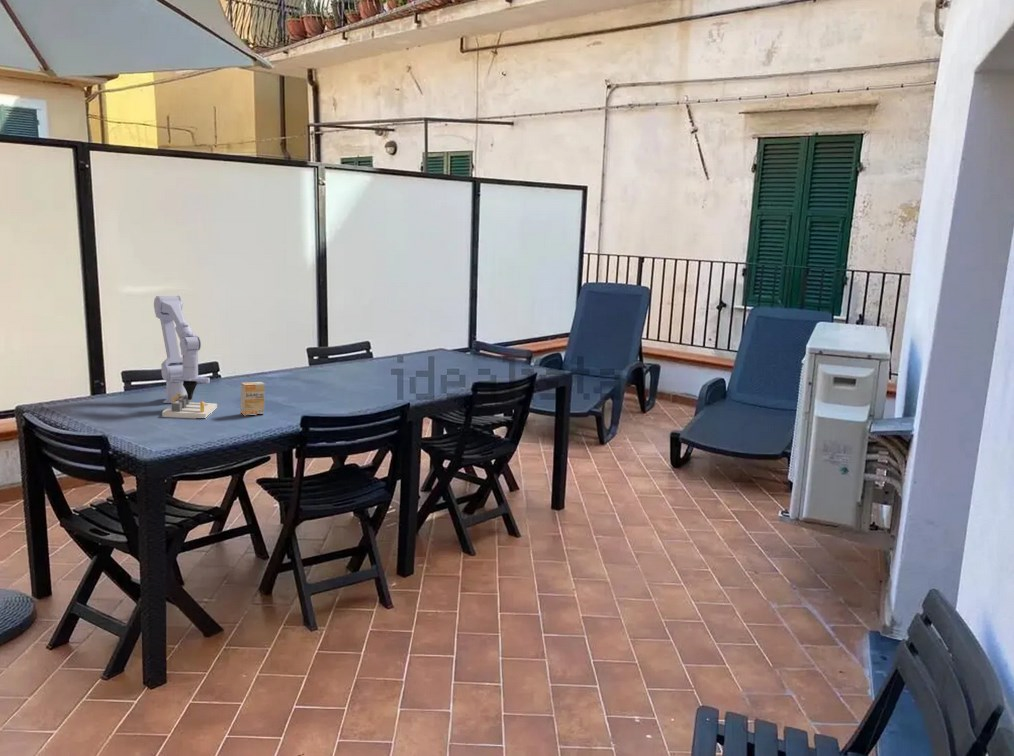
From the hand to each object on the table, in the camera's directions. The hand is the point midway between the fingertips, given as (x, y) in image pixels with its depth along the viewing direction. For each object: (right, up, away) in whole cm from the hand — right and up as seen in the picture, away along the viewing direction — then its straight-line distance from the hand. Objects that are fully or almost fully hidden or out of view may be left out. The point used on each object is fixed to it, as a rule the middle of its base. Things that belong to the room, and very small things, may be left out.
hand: (190, 399), depth 303 cm
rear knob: (-2, -2, 0) cm, 3 cm away
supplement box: (+25, -6, 0) cm, 26 cm away
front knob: (-1, -4, -11) cm, 11 cm away
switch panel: (+2, -5, -4) cm, 7 cm away
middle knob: (-1, -3, -5) cm, 6 cm away
